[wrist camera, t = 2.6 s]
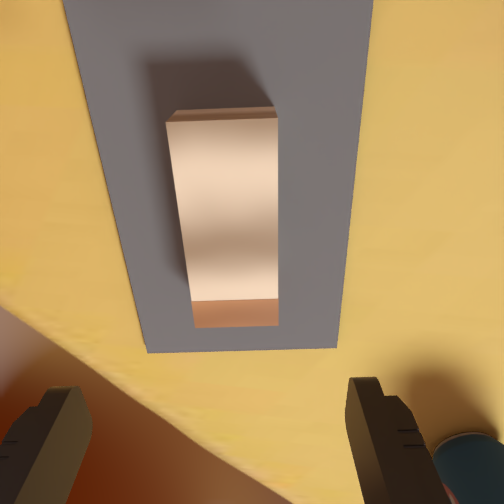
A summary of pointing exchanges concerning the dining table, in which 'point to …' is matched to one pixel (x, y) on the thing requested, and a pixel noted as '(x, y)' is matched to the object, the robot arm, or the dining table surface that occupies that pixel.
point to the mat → (228, 96)
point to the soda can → (471, 468)
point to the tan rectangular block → (228, 212)
